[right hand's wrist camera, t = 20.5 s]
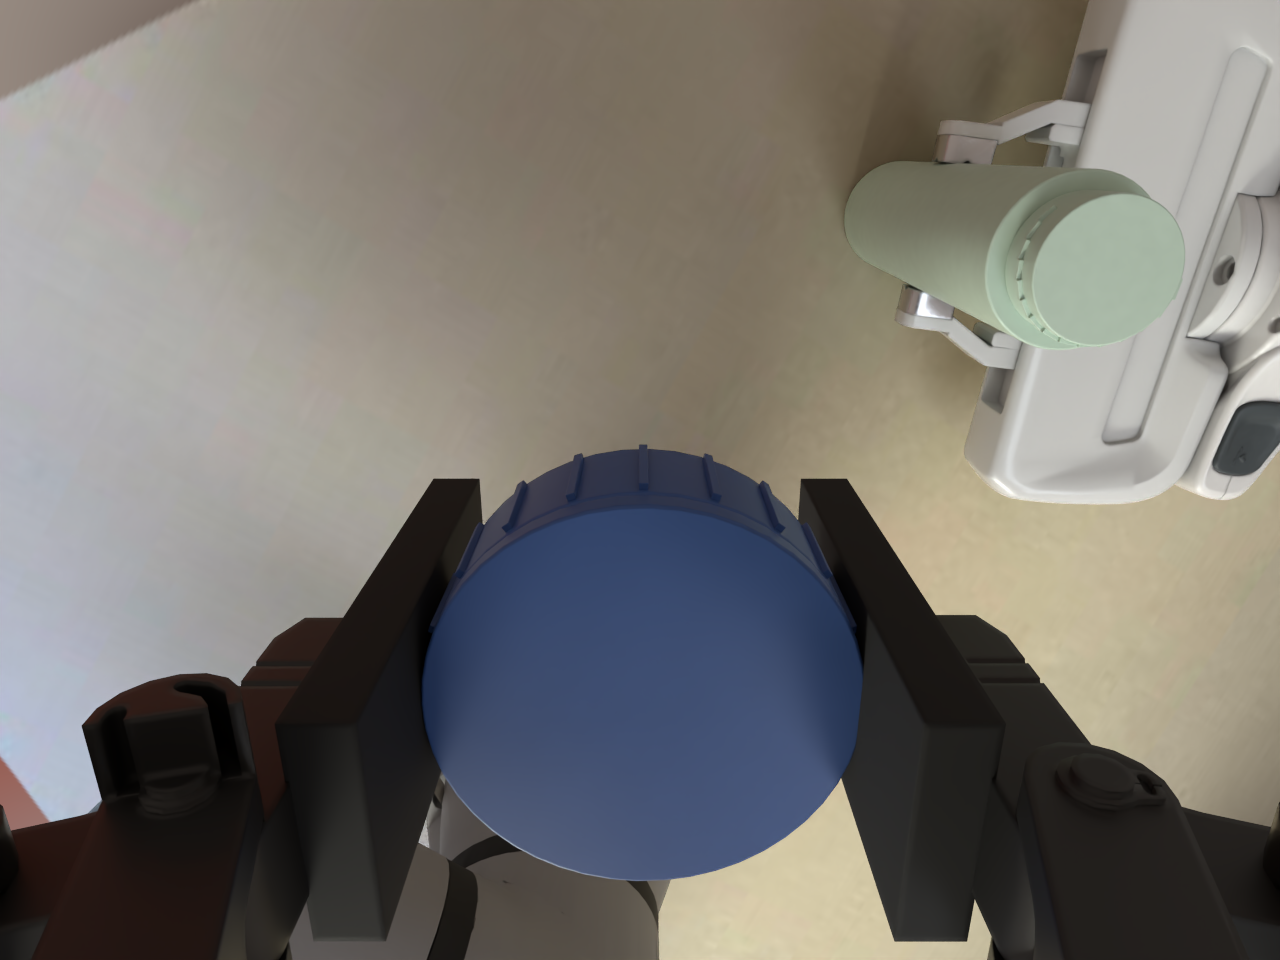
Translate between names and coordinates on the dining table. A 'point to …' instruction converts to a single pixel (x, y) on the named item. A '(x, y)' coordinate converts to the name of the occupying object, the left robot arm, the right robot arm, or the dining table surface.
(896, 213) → the pale green bottle
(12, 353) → the dining table surface
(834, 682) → the lid
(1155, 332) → the left robot arm
